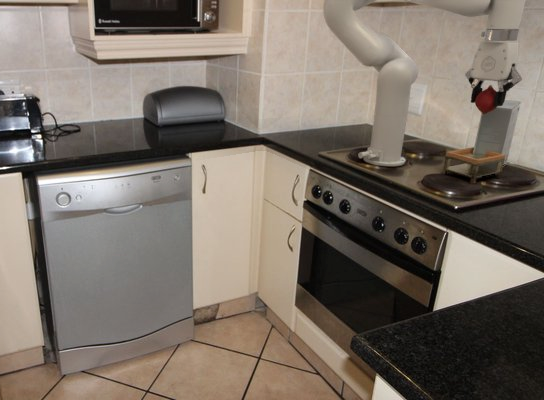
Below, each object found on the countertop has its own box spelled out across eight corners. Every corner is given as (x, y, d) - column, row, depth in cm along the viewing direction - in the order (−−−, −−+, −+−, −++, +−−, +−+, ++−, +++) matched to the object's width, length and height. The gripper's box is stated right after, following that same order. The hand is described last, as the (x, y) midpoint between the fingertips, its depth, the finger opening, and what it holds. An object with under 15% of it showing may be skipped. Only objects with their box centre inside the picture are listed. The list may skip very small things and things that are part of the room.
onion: (501, 115, 133) (508, 86, 130) (482, 116, 132) (489, 87, 129) (485, 111, 138) (492, 83, 135) (467, 112, 138) (474, 83, 135)
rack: (473, 184, 135) (478, 160, 133) (442, 174, 144) (446, 151, 141) (500, 178, 140) (505, 154, 137) (468, 169, 148) (473, 147, 146)
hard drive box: (479, 159, 157) (493, 98, 150) (506, 164, 152) (522, 101, 145) (468, 170, 146) (482, 105, 139) (496, 175, 141) (513, 108, 134)
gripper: (461, 36, 134) (449, 100, 140) (525, 37, 119) (508, 110, 125) (479, 35, 137) (466, 98, 143) (543, 37, 122) (526, 107, 128)
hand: (486, 103), depth 134 cm, fingers closed on onion, 5 cm apart
